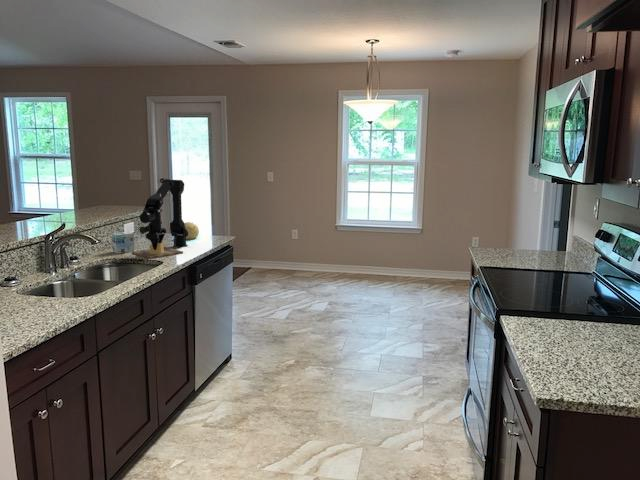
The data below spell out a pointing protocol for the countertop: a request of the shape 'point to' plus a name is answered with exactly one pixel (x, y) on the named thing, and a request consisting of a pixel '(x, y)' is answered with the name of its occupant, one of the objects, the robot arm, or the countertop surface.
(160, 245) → the collar
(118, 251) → the light bulb box
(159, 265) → the countertop surface
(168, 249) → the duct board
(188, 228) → the sculpture
